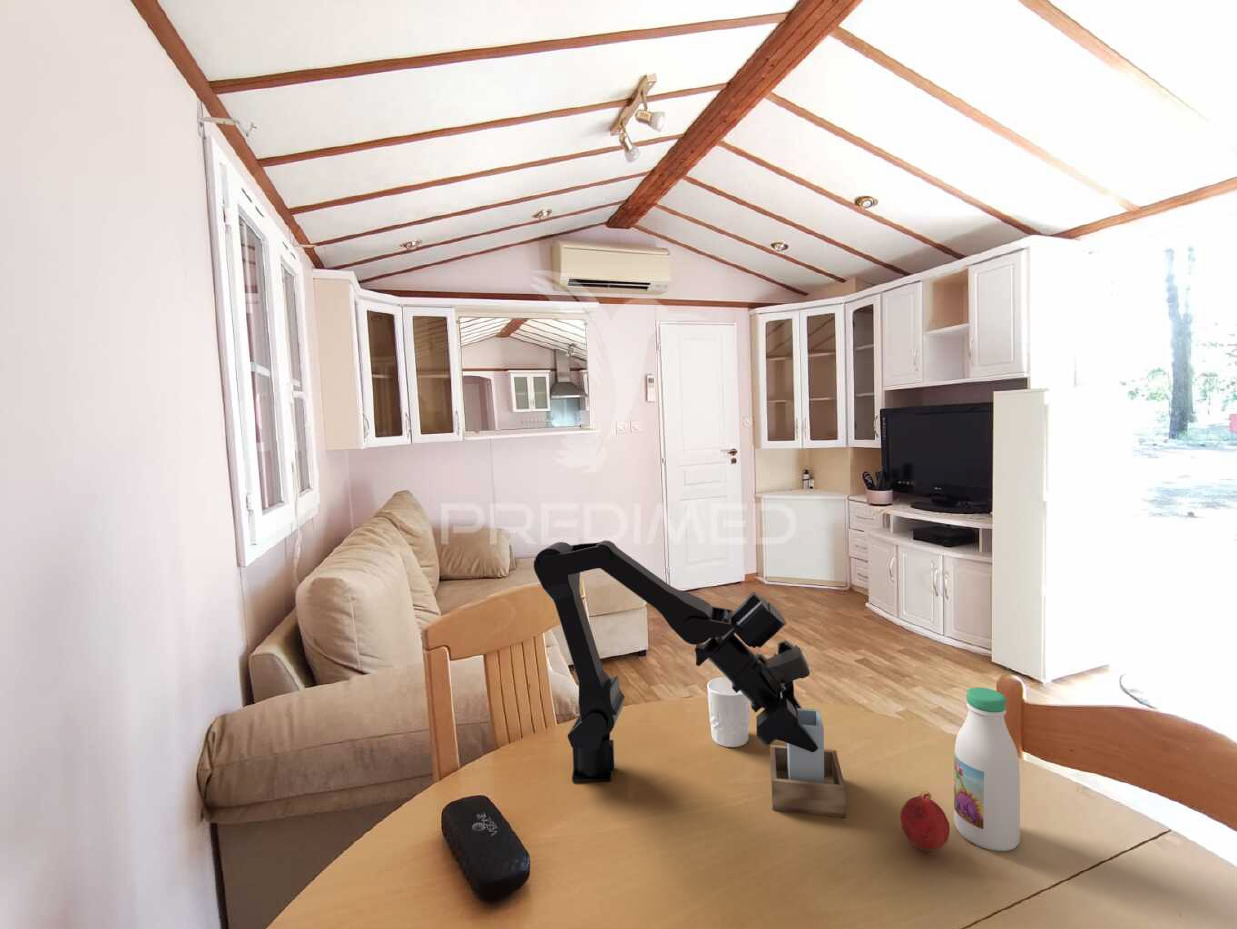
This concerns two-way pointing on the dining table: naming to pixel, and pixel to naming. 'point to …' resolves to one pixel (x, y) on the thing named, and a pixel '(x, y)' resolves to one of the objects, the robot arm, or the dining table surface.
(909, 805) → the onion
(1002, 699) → the milk bottle
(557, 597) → the robot arm
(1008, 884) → the dining table surface
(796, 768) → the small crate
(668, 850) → the dining table surface
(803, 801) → the big crate
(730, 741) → the white cup
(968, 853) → the dining table surface
